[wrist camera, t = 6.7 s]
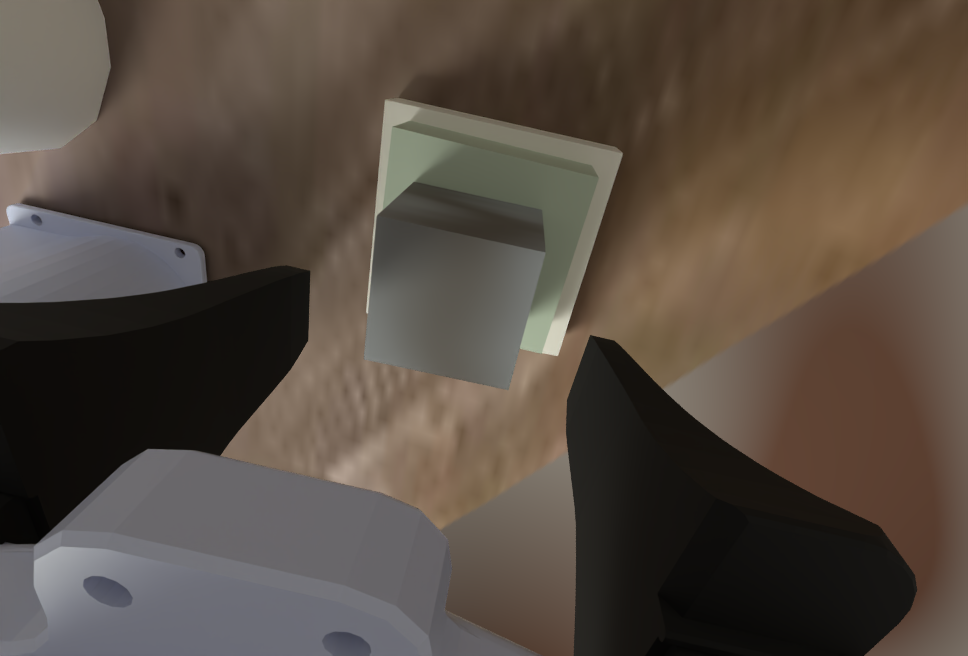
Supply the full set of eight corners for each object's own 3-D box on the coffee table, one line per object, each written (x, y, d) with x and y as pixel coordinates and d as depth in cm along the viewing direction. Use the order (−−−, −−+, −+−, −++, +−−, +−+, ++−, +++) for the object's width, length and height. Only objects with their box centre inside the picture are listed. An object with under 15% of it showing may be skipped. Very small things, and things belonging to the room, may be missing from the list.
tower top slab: (388, 287, 21) (370, 312, 19) (410, 120, 18) (392, 126, 16) (541, 325, 21) (541, 353, 19) (591, 165, 18) (599, 177, 16)
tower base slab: (382, 291, 24) (366, 312, 22) (402, 96, 20) (385, 99, 18) (556, 330, 24) (557, 356, 22) (613, 144, 20) (623, 153, 18)
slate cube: (399, 298, 19) (363, 359, 15) (413, 181, 16) (376, 215, 12) (513, 322, 19) (508, 390, 15) (541, 209, 16) (545, 252, 12)
